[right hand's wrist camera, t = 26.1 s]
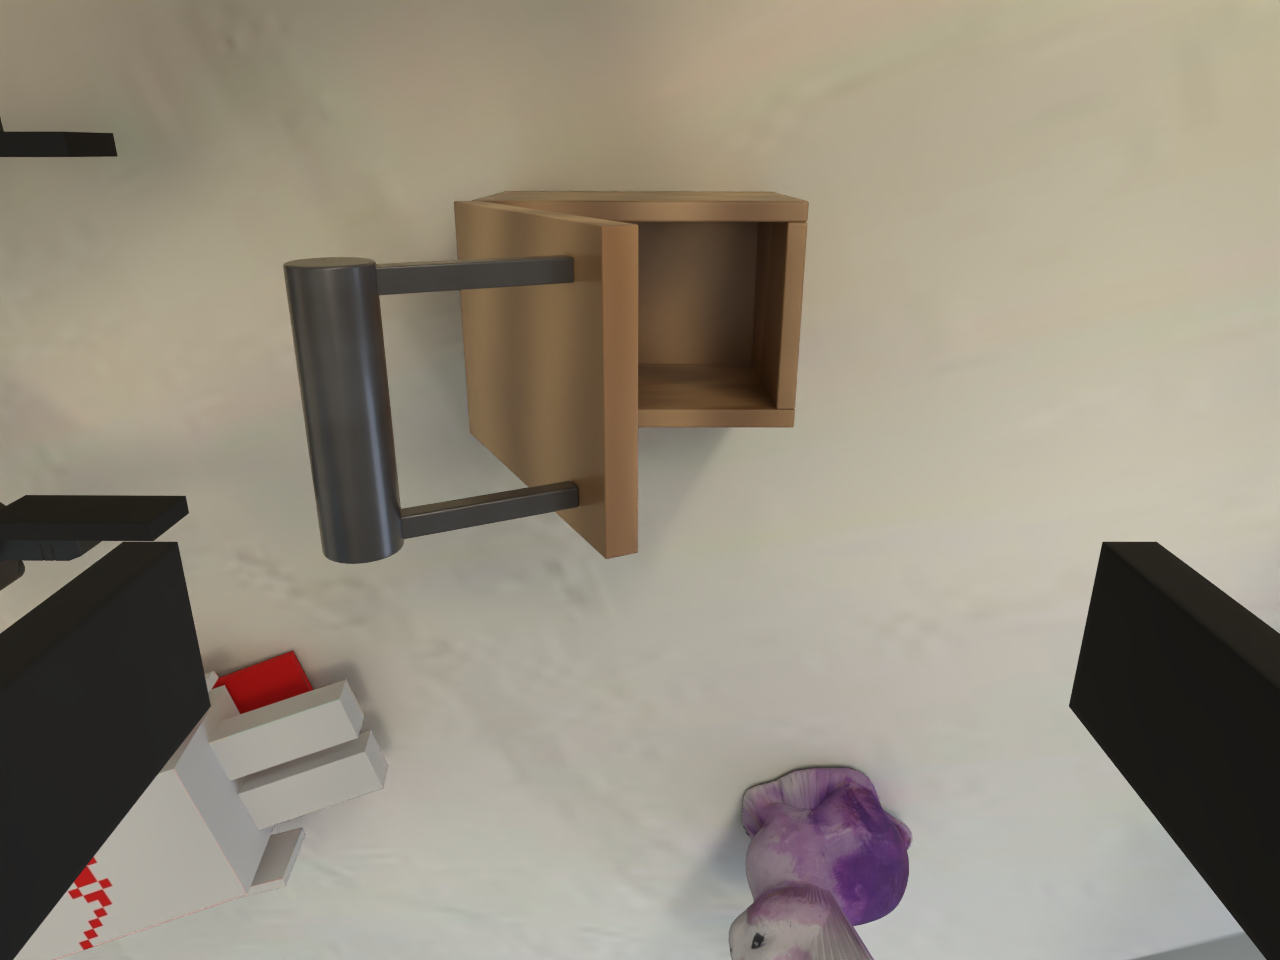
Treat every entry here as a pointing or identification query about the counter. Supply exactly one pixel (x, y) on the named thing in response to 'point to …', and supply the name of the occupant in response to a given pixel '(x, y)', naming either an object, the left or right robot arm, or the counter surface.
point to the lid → (482, 378)
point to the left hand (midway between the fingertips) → (135, 345)
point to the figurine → (818, 866)
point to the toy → (221, 807)
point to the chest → (707, 299)
